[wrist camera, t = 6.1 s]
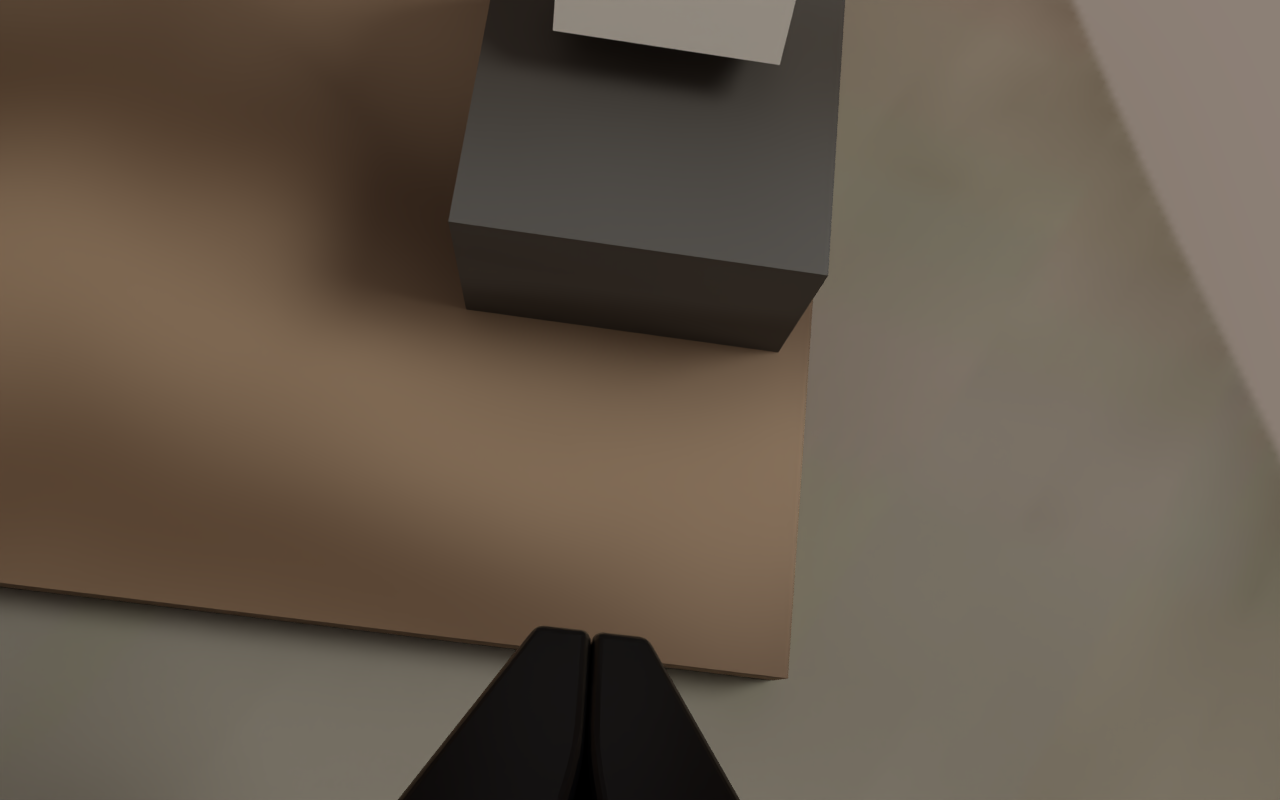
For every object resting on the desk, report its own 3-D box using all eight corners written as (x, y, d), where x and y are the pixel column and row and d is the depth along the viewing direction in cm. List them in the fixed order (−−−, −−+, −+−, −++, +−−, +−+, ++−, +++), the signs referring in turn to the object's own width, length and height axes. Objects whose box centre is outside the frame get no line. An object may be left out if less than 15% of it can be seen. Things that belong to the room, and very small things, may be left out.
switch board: (773, 680, 16) (846, 670, 12) (-586, 515, 15) (-986, 446, 11) (824, -55, 20) (890, -236, 16) (-227, -222, 19) (-424, -457, 15)
